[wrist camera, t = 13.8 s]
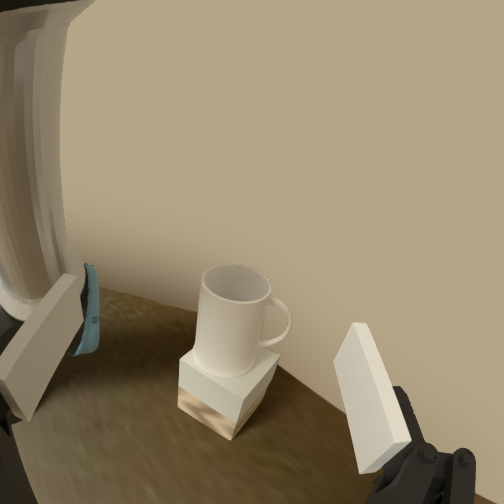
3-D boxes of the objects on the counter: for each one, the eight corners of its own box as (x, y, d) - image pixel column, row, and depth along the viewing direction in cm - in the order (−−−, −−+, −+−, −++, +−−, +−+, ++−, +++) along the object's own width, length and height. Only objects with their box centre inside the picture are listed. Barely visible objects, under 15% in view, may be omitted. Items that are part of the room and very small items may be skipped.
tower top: (178, 385, 41) (179, 358, 38) (218, 350, 49) (223, 323, 47) (236, 423, 37) (243, 399, 35) (271, 380, 45) (280, 355, 43)
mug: (280, 347, 44) (302, 278, 39) (274, 390, 36) (300, 319, 31) (202, 327, 45) (211, 256, 40) (184, 367, 37) (188, 292, 32)
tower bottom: (177, 406, 44) (178, 385, 41) (213, 372, 52) (217, 350, 49) (230, 440, 40) (236, 422, 38) (262, 400, 48) (270, 379, 46)
